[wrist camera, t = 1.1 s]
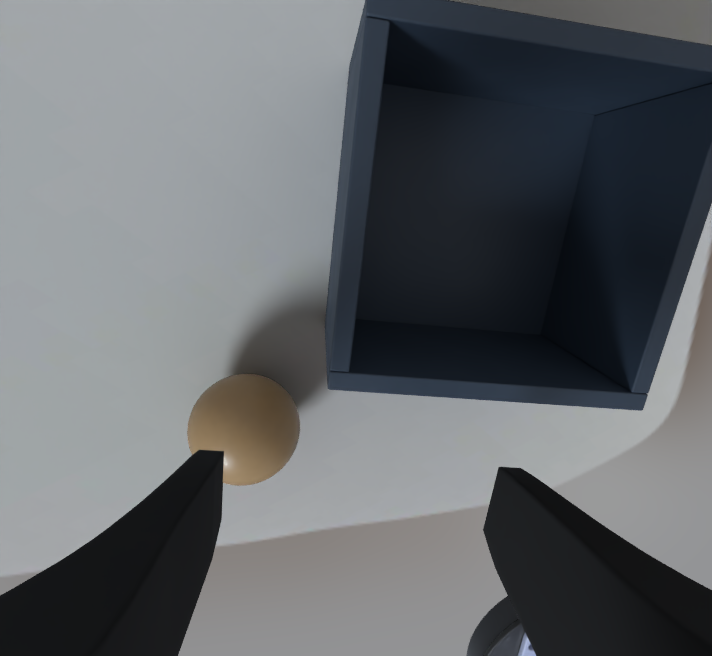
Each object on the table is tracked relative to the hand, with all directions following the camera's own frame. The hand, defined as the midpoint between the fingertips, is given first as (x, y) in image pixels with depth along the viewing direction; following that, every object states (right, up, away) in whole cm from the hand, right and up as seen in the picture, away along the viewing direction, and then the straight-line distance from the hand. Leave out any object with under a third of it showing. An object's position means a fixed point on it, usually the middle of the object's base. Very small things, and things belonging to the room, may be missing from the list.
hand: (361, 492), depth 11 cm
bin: (+4, +9, +7) cm, 12 cm away
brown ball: (-5, +1, +9) cm, 10 cm away
